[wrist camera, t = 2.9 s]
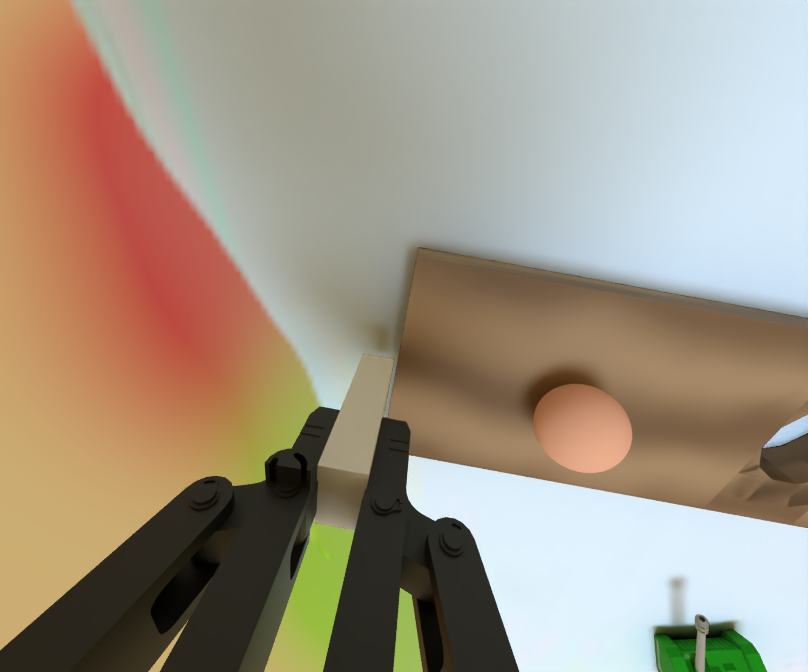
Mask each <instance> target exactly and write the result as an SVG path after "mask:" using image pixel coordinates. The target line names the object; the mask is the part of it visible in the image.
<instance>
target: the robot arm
mask: <svg viewBox="0 0 808 672" xmlns="http://www.w3.org/2000/svg"><path fill="white" fill-rule="evenodd" d="M393 363H394V359H391V358H385V357H380V356H374V355H369V354H363V356H362V358H361V361H360V363H359V366H358V368H357V371H356V373H355V375H354V378H353V380H352V383H351V385H350V388H349V390H348V392H347V395H346V397H345V400H344V402H343V405H342V407H341V409H340V410H336V409H331V408H325V407H319V408H317V409H316V410H315V411H314V412H312V413H311V414H310V415H309V417H308V419H307V421H306V423H305V425H304V427H303V428H302V430H301V432H300V435H299V436H298V438H297V440H296V442H295V443H294V445H293V447H292V449H285V450H281V451H278V452H276V453H275V454H273V455H272V456H270V457H269V458H268V460H267V461H266V462H265V475H266V480H265V481H262V482H260V483H255V484H248V485H240V486H232V483H231V482H230V481H229V480H228V479H226V478H225V477H220V476H211V477H205V478H203V479H200V480H198V481H196V482H194V483H193V484H191V485H190V486H188V487H187V488H186V489H185V490H183V491H182V492H181V493H180V494H179V495H178V496H176V497H175V498H174V499H173V500H172V501H171V502H170V503H168V504H167V505H166V506H165V507H164V508H163V509H162V510H160V511H159V512H158V513H157V514H156V515H155V516H153V517H152V518H151V519H150V520H149V521H148V522H147V523H145V524H144V525H143V526H142V527H141V528H140V529H139V530H137V531H136V532H135V533H134V534H133V535H132V536H131V537H130V538H128V539H127V540H126V541H125V542H124V543H123V544H121V545H120V546H119V547H118V548H117V549H116V550H115V551H113V552H112V553H111V554H110V555H109V556H108V557H107V558H105V559H104V560H103V561H102V562H101V563H100V564H99V565H97V566H96V567H95V568H94V569H93V570H92V571H91V572H89V573H88V574H87V575H86V576H85V577H84V578H83V579H81V580H80V581H79V582H78V583H77V584H76V585H75V586H74V587H72V588H71V589H70V590H69V591H68V592H67V593H65V594H64V595H63V596H62V597H61V598H60V599H59V600H58V601H56V602H55V603H54V604H53V605H52V606H51V607H49V608H48V609H47V610H46V611H45V612H44V613H43V614H41V615H40V616H39V617H38V618H37V619H36V620H34V622H32V623H31V624H30V625H29V626H28V627H26V628H25V629H24V630H23V631H22V632H21V633H20V634H18V635H17V636H16V637H15V638H14V639H13V640H12V641H10V642H9V643H8V644H7V645H6V646H5V647H4V648H3V649H1V650H0V672H148V671H149V670H150V669H151V667H152V666H153V665H154V664H155V662H156V661H157V660H158V658H159V657H160V656H161V655H162V653H163V652H164V651H165V649H166V648H167V647H168V646H169V644H170V643H171V641H172V640H173V639H174V638H175V636H176V635H177V634H178V633H179V631H180V630H181V629H182V628H183V626H184V625H185V624H186V622H187V621H188V622H187V624H186V626H185V628H184V629H183V631H182V633H181V635H180V637H179V638H178V640H177V642H176V644H175V645H174V647H173V649H172V651H171V653H170V654H169V656H168V658H167V660H166V662H165V663H164V665H163V667H162V669H161V671H160V672H264V670H265V667H266V664H267V661H268V658H269V655H270V652H271V650H272V647H273V644H274V641H275V638H276V635H277V632H278V629H279V626H280V624H281V621H282V617H283V615H284V612H285V609H286V606H287V603H288V600H289V597H290V594H291V592H292V589H293V586H294V583H295V580H296V577H297V574H298V571H299V568H300V565H301V562H302V560H303V557H304V554H305V551H306V548H307V545H308V542H309V536H310V528H311V525H312V523H313V520H314V517H315V523H317V524H322V525H328V526H334V527H339V528H344V529H349V530H355V533H354V537H353V542H352V546H351V551H350V555H349V559H348V564H347V568H346V572H345V577H344V581H343V586H342V590H341V595H340V599H339V603H338V608H337V612H336V617H335V621H334V626H333V630H332V634H331V639H330V643H329V648H328V652H327V657H326V661H325V666H324V670H323V672H393V667H394V653H395V642H396V630H397V617H398V605H399V592H400V588H402V589H403V590H405V591H407V592H408V593H410V594H411V595H412V599H413V606H414V613H415V620H416V627H417V633H418V640H419V648H420V655H421V661H422V668H423V672H519V669H518V666H517V664H516V661H515V658H514V655H513V652H512V649H511V646H510V643H509V640H508V637H507V634H506V631H505V628H504V625H503V622H502V619H501V616H500V613H499V610H498V607H497V604H496V601H495V598H494V595H493V593H492V590H491V587H490V584H489V581H488V578H487V575H486V572H485V569H484V566H483V563H482V560H481V557H480V554H479V551H478V548H477V545H476V542H475V539H474V537H473V536H472V534H471V532H470V530H469V529H468V528H467V527H466V526H465V525H464V524H463V523H462V522H460V521H458V520H456V519H454V518H448V517H444V518H441V519H437V520H436V521H434V520H432V519H430V518H428V517H426V516H425V515H423V514H421V513H420V512H418V511H417V510H416V509H415V508H414V507H413V506H412V505H411V503H410V501H409V500H408V497H407V493H406V483H407V471H408V459H409V447H410V435H411V431H410V429H409V426H408V424H407V422H406V421H400V420H395V419H390V418H384V413H385V408H386V403H387V397H388V392H389V386H390V380H391V374H392V368H393Z"/></svg>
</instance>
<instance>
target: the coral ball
mask: <svg viewBox="0 0 808 672" xmlns="http://www.w3.org/2000/svg"><path fill="white" fill-rule="evenodd" d="M533 426H534V432H535V435H536V438H537V440H538V442H539V444H540V446H541V447H542V449H543V450H544V451H545V452H546V454H547V455H548V456H549V457H550V458H552V459H553V460H554V461H555V462H557V463H558V464H560V465H562V466H564V467H566V468H568V469H570V470H574V471H577V472H583V473H598V472H603V471H606V470H609V469H611V468H613V467H614V466H616V465H617V464H619V463H620V462H621V461H622V460H623V459H624V458H625V456H626V455H627V453H628V451H629V449H630V446H631V442H632V427H631V423H630V420H629V418H628V416H627V414H626V412H625V410H624V409H623V407H622V406H621V405H620V404H619V403H618V402H617V401H616V400H615V399H614V398H613V397H612V396H610V395H609V394H608V393H606V392H604V391H602V390H600V389H598V388H596V387H593V386H589V385H584V384H567V385H562V386H559V387H557V388H554V389H553V390H551V391H549V392H548V393H547V394H545V395H544V396H543V397H542V399H541V400H540V401H539V403H538V405H537V407H536V409H535V412H534V418H533Z"/></svg>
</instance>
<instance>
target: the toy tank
mask: <svg viewBox="0 0 808 672" xmlns="http://www.w3.org/2000/svg"><path fill="white" fill-rule="evenodd" d="M695 628H696V629H697V639H683V640H671V639H670V638H669V637H668V635H666V634H657V635H655V636H654V640H655V652H656V664H657V668H658V671H659V672H767V670H766V668H765V666H764V664H763V661H762V659H761V657H760V654H759V653H758V651H757V650H756V649H755V647H754V646H753V644H752V643H751V642H749V641H748V640H747V639H745V638H744V637H743V636H741V635H740V634H739V633H737V632H736V631H735V630H727V631H722V632H721V638H706V635H707V634H708V633H709V622H708V620H707V619H706V618H705V617H704V616H703V615H700V614H697V615H696V616H695ZM726 663H727V664H726Z"/></svg>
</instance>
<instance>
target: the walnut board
mask: <svg viewBox="0 0 808 672" xmlns="http://www.w3.org/2000/svg"><path fill="white" fill-rule="evenodd" d="M567 384H584V385H589V386H593V387H596V388H598V389H600V390H602V391H604V392H606V393H608V394H609V395H610V396H612V397H613V398H614V399H615V400H616V401H617V402H618V403H619V404H620V405H621V406H622V407H623V409H624V410H625V412H626V414H627V416H628V418H629V420H630V423H631V427H632V442H631V446H630V449H629V451H628V453H627V455H626V456H625V458H624V459H623V460H622V461H621V462H620V463H619V464H617V465H616V466H614V467H613V468H611V469H609V470H606V471H603V472H598V473H583V472H577V471H574V470H570V469H568V468H566V467H564V466H562V465H560V464H558V463H557V462H555V461H554V460H553V459H552V458H550V457H549V456H548V455H547V454H546V452H545V451H544V450H543V449H542V447H541V446H540V444H539V442H538V440H537V438H536V435H535V432H534V426H533V418H534V412H535V409H536V407H537V405H538V403H539V401H540V400H541V399H542V397H543V396H544V395H545V394H547V393H548V392H549V391H551V390H553V389H554V388H557V387H559V386H562V385H567ZM806 415H808V318H803V317H798V316H792V315H787V314H781V313H776V312H770V311H765V310H759V309H754V308H748V307H743V306H737V305H732V304H726V303H721V302H715V301H710V300H704V299H699V298H693V297H688V296H682V295H677V294H671V293H666V292H660V291H655V290H649V289H644V288H639V287H633V286H628V285H622V284H617V283H611V282H606V281H600V280H595V279H589V278H584V277H578V276H573V275H567V274H562V273H556V272H551V271H545V270H540V269H534V268H529V267H523V266H518V265H512V264H507V263H501V262H496V261H490V260H485V259H479V258H474V257H468V256H463V255H457V254H452V253H446V252H441V251H435V250H430V249H424V248H418V252H417V257H416V262H415V268H414V274H413V279H412V285H411V290H410V296H409V301H408V307H407V313H406V318H405V324H404V329H403V335H402V341H401V346H400V352H399V357H398V363H397V368H396V374H395V380H394V385H393V391H392V396H391V402H390V408H389V413H388V418H390V419H395V420H400V421H406V422H407V424H408V426H409V429H410V431H411V435H410V447H409V455H411V456H417V457H422V458H428V459H433V460H439V461H444V462H450V463H455V464H461V465H466V466H471V467H477V468H482V469H488V470H493V471H499V472H504V473H510V474H515V475H521V476H526V477H531V478H537V479H542V480H548V481H553V482H559V483H564V484H570V485H575V486H581V487H586V488H591V489H597V490H602V491H608V492H613V493H619V494H624V495H630V496H635V497H641V498H646V499H652V500H657V501H662V502H668V503H673V504H679V505H684V506H690V507H695V508H701V509H706V510H712V511H717V512H722V513H728V514H733V515H739V516H744V517H750V518H755V519H761V520H766V521H772V522H777V523H782V524H788V525H793V526H799V527H804V528H808V434H807V435H805V436H803V437H801V438H798V439H796V440H794V441H792V442H790V443H788V444H786V445H784V446H779V447H773V448H767V449H762V447H763V446H764V445H765V444H766V443H767V442H768V441H769V440H770V439H771V438H772V437H773V436H774V435H775V434H776V433H777V432H778V431H779V430H780V429H781V428H782V427H784V426H786V425H788V424H790V423H792V422H794V421H796V420H798V419H800V418H802V417H804V416H806Z"/></svg>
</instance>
